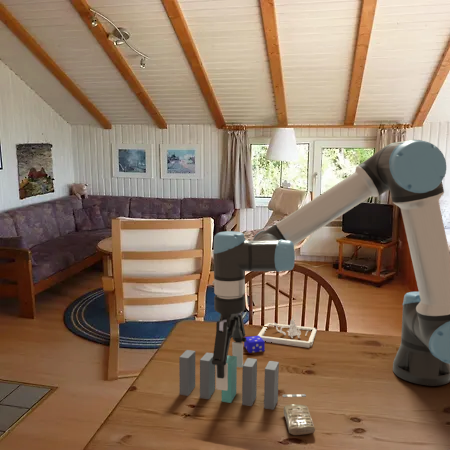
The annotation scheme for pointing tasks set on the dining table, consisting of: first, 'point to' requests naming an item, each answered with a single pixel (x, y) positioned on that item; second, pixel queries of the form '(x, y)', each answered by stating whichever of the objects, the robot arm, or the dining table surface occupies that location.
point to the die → (254, 344)
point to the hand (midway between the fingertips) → (230, 377)
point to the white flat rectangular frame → (289, 341)
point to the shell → (291, 329)
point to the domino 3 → (230, 380)
